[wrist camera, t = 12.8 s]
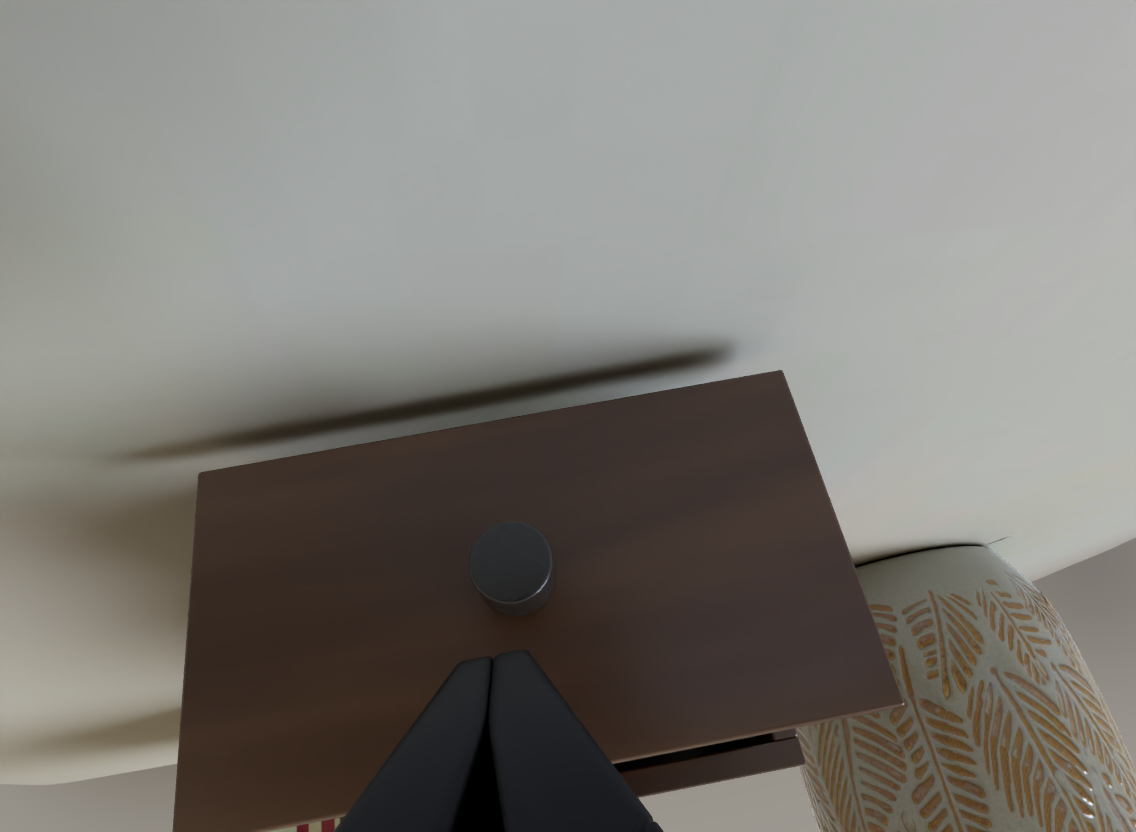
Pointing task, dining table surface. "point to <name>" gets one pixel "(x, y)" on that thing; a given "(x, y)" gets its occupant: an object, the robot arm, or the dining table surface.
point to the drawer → (517, 593)
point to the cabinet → (712, 763)
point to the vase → (971, 713)
